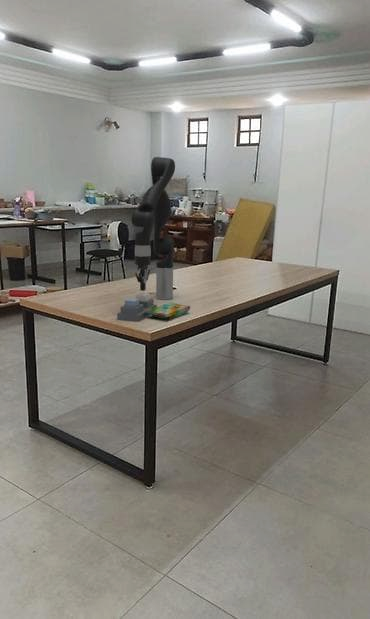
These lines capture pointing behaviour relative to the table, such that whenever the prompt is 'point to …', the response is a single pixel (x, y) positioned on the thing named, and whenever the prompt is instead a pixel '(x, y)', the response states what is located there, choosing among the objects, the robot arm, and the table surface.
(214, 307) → the table surface
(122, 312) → the grey plastic block
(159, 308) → the puzzle game
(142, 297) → the white key
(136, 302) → the blue key
